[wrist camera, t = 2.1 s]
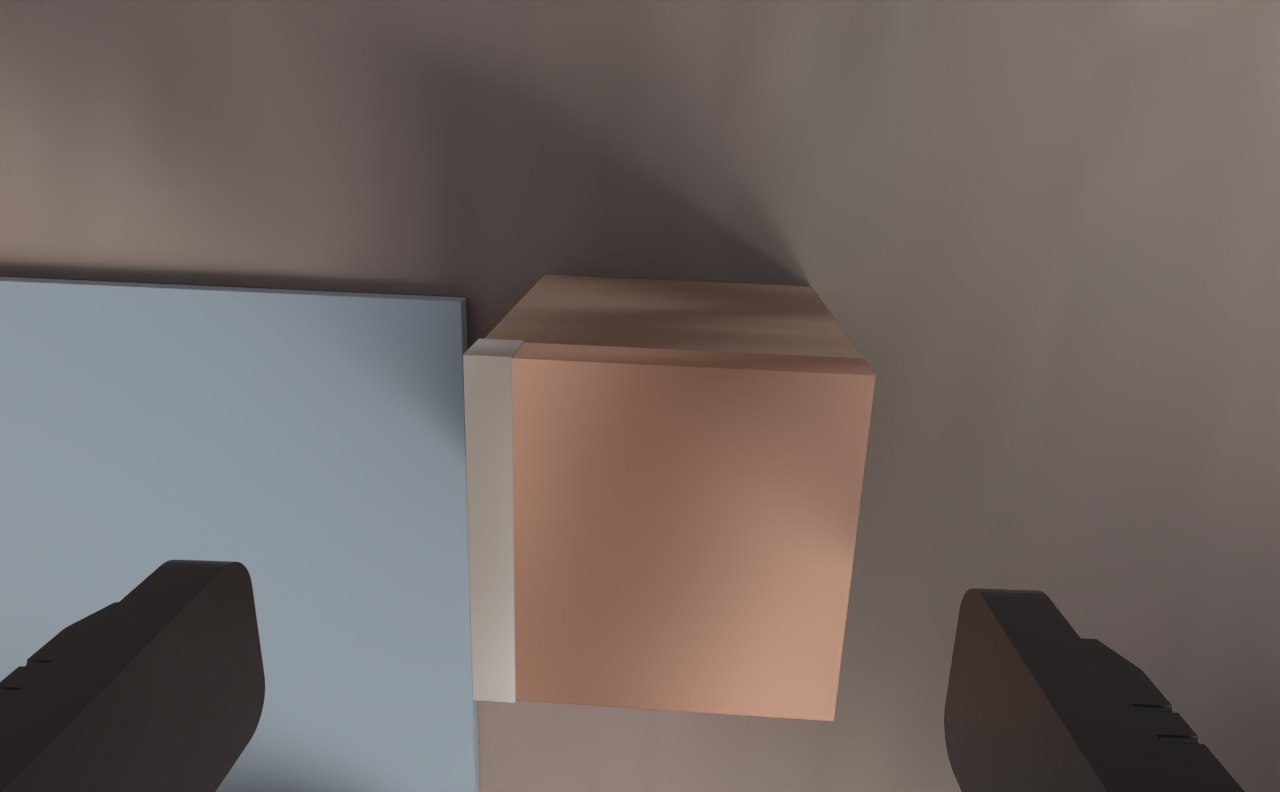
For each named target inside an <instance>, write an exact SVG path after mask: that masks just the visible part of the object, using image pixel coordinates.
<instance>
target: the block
mask: <svg viewBox="0 0 1280 792" xmlns="http://www.w3.org/2000/svg"><path fill="white" fill-rule="evenodd" d="M463 369H464V403H465V438H466V472H467V506H468V541H469V575H470V609H471V643H472V678H473V700H481V701H496V702H512V703H515V702H516V701H529V702H545V703H560V704H576V705H591V706H607V707H622V708H638V709H653V710H669V711H684V712H700V713H715V714H731V715H746V716H762V717H777V718H793V719H808V720H824V721H834V714H835V706H836V698H837V690H838V681H839V673H840V665H841V657H842V649H843V641H844V632H845V624H846V616H847V608H848V600H849V592H850V583H851V575H852V567H853V559H854V551H855V542H856V534H857V526H858V518H859V510H860V502H861V493H862V485H863V477H864V469H865V461H866V453H867V444H868V436H869V428H870V420H871V412H872V403H873V395H874V387H875V379H876V375H875V374H874V372H873V371H872V370H871V368H870V367H869V365H868V364H867V363H866V361H865V360H864V359H863V357H862V356H861V355H860V353H859V352H858V350H857V349H856V348H855V346H854V345H853V344H852V342H851V341H850V339H849V338H848V337H847V335H846V334H845V333H844V331H843V330H842V328H841V327H840V326H839V324H838V323H837V322H836V320H835V319H834V317H833V316H832V315H831V313H830V312H829V311H828V309H827V308H826V306H825V305H824V304H823V302H822V301H821V300H820V298H819V297H818V295H817V294H816V293H815V291H814V290H813V289H812V287H811V286H797V285H774V284H751V283H728V282H705V281H682V280H659V279H636V278H613V277H590V276H568V275H544V276H543V277H542V278H541V279H540V280H539V281H538V282H537V283H536V284H535V285H534V286H533V287H532V288H531V289H530V290H529V292H528V293H527V294H526V295H525V296H524V297H523V298H522V299H521V300H520V301H519V302H518V303H517V304H516V305H515V306H514V307H513V308H512V310H511V311H510V312H509V313H508V314H507V315H506V316H505V317H504V318H503V319H502V320H501V321H500V322H499V323H498V324H497V325H496V326H495V328H494V329H493V330H492V331H491V332H490V333H489V334H488V335H487V336H486V337H485V338H484V339H480V338H479V339H478V340H477V341H476V342H475V343H474V344H473V345H472V346H471V347H470V348H469V349H468V350H467V351H466V352H465V353H464V354H463Z"/></svg>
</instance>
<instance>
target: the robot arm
mask: <svg viewBox="0 0 1280 792" xmlns="http://www.w3.org/2000/svg"><path fill="white" fill-rule="evenodd" d="M264 698H265V675H264V668H263V661H262V653H261V646H260V639H259V631H258V624H257V617H256V610H255V602H254V595H253V588H252V582H251V577H250V574H249V572H248V570H247V568H246V567H245V566H244V565H243V564H242V563H240V562H232V561H203V560H169V561H167V562H165V563H163V564H162V565H161V566H160V567H158V568H157V569H156V570H155V571H154V572H153V573H152V574H150V575H149V576H148V577H147V578H146V579H145V580H144V581H142V582H141V583H140V584H139V585H138V586H137V587H136V588H134V589H133V590H132V591H131V592H130V593H129V594H128V595H126V596H125V597H124V598H123V599H122V600H121V601H120V602H114V603H112V604H110V605H108V606H106V607H104V608H103V609H101V610H99V611H97V612H95V613H93V614H91V615H89V616H87V617H85V618H83V619H81V620H79V621H77V622H75V623H73V624H72V625H70V626H68V627H66V628H64V629H63V630H62V631H61V632H59V633H58V634H57V635H56V636H55V637H53V638H52V639H51V640H50V641H49V642H47V643H46V644H45V645H44V646H43V647H41V648H40V649H39V650H38V651H37V652H36V653H34V654H33V655H32V656H31V657H30V658H28V659H27V664H26V666H19V667H18V668H16V669H15V670H14V671H13V672H12V673H11V674H9V675H8V676H7V677H6V678H5V679H3V680H2V681H1V682H0V792H216V790H217V789H218V787H219V786H220V784H221V783H222V781H223V780H224V779H225V777H226V776H227V774H228V773H229V771H230V770H231V768H232V767H233V765H234V764H235V762H236V761H237V759H238V758H239V756H240V755H241V753H242V752H243V751H244V749H245V748H246V746H247V745H248V743H249V742H250V740H251V738H252V737H253V735H254V733H255V731H256V729H257V726H258V723H259V721H260V717H261V714H262V709H263V704H264ZM944 726H945V739H946V746H947V752H948V756H949V760H950V764H951V767H952V770H953V772H954V775H955V777H956V779H957V782H958V784H959V786H960V789H961V791H962V792H1244V791H1243V789H1242V788H1241V787H1240V786H1239V785H1238V783H1237V782H1236V781H1235V780H1234V779H1233V778H1232V776H1231V775H1230V774H1229V773H1228V772H1227V770H1226V769H1225V768H1224V767H1223V766H1222V765H1221V763H1220V762H1219V761H1218V760H1217V759H1216V757H1215V756H1214V755H1213V754H1212V753H1211V752H1210V750H1209V749H1208V748H1207V747H1206V746H1205V744H1199V743H1198V740H1197V737H1198V736H1197V735H1196V734H1195V733H1194V731H1193V730H1192V729H1191V728H1190V727H1189V725H1188V724H1187V723H1186V722H1185V721H1184V720H1183V718H1182V717H1181V716H1180V715H1179V714H1178V713H1173V712H1172V705H1171V704H1170V703H1169V702H1168V701H1167V699H1166V698H1165V697H1164V696H1163V695H1162V694H1161V692H1160V691H1159V690H1158V689H1157V688H1156V686H1155V685H1154V684H1153V683H1152V682H1151V681H1150V679H1149V678H1148V677H1147V676H1146V675H1145V673H1144V672H1143V671H1142V670H1141V669H1139V668H1138V667H1137V666H1135V665H1134V664H1132V663H1131V662H1129V661H1128V660H1126V659H1125V658H1123V657H1122V656H1120V655H1119V654H1117V653H1116V652H1114V651H1113V650H1111V649H1110V648H1108V647H1107V646H1106V645H1104V644H1103V643H1101V642H1100V641H1098V640H1097V639H1081V638H1080V637H1079V636H1078V635H1077V633H1076V632H1075V631H1074V629H1073V628H1072V627H1071V626H1070V624H1069V623H1068V622H1067V620H1066V619H1065V618H1064V617H1063V615H1062V614H1061V613H1060V611H1059V610H1058V609H1057V608H1056V606H1055V605H1054V604H1053V602H1052V601H1051V600H1050V599H1049V597H1048V596H1047V595H1046V594H1045V593H1043V592H1041V591H1030V590H1001V589H969V590H968V591H967V592H966V593H965V595H964V597H963V599H962V602H961V606H960V611H959V618H958V624H957V631H956V638H955V644H954V651H953V658H952V664H951V671H950V678H949V684H948V691H947V698H946V704H945V717H944Z"/></svg>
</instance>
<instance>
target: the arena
mask: <svg viewBox="0 0 1280 792" xmlns="http://www.w3.org/2000/svg"><path fill="white" fill-rule="evenodd" d="M467 350H468V348H467V312H466V298H465V297H442V296H420V295H398V294H376V293H353V292H331V291H309V290H287V289H264V288H242V287H220V286H197V285H175V284H153V283H131V282H108V281H86V280H64V279H42V278H19V277H0V682H1V681H2V680H3V679H5V678H6V677H7V676H8V675H9V674H11V673H12V672H13V671H14V670H15V669H16V668H18V667H19V666H26V664H27V659H28V658H30V657H31V656H32V655H33V654H34V653H36V652H37V651H38V650H39V649H40V648H41V647H43V646H44V645H45V644H46V643H47V642H49V641H50V640H51V639H52V638H53V637H55V636H56V635H57V634H58V633H59V632H61V631H62V630H63V629H64V628H66V627H68V626H70V625H72V624H73V623H75V622H77V621H79V620H81V619H83V618H85V617H87V616H89V615H91V614H93V613H95V612H97V611H99V610H101V609H103V608H104V607H106V606H108V605H110V604H112V603H114V602H120V601H121V600H122V599H123V598H124V597H125V596H126V595H128V594H129V593H130V592H131V591H132V590H133V589H134V588H136V587H137V586H138V585H139V584H140V583H141V582H142V581H144V580H145V579H146V578H147V577H148V576H149V575H150V574H152V573H153V572H154V571H155V570H156V569H157V568H158V567H160V566H161V565H162V564H163V563H165V562H167V561H169V560H203V561H232V562H240V563H242V564H243V565H244V566H245V567H246V568H247V570H248V572H249V574H250V577H251V582H252V588H253V595H254V602H255V610H256V617H257V624H258V631H259V639H260V646H261V653H262V661H263V668H264V675H265V698H264V704H263V709H262V714H261V717H260V721H259V723H258V726H257V729H256V731H255V733H254V735H253V737H252V738H251V740H250V742H249V743H248V745H247V746H246V748H245V749H244V751H243V752H242V753H241V755H240V756H239V758H238V759H237V761H236V762H235V764H234V765H233V767H232V768H231V770H230V771H229V773H228V774H227V776H226V777H225V779H224V780H223V781H222V783H221V784H220V786H219V787H218V789H217V790H216V792H480V788H479V751H478V715H477V700H473V678H472V643H471V609H470V575H469V541H468V506H467V472H466V438H465V403H464V369H463V354H464V353H465V352H466V351H467Z"/></svg>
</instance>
